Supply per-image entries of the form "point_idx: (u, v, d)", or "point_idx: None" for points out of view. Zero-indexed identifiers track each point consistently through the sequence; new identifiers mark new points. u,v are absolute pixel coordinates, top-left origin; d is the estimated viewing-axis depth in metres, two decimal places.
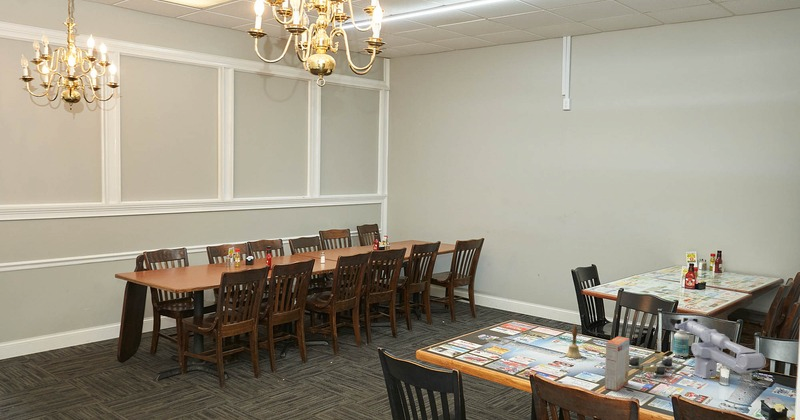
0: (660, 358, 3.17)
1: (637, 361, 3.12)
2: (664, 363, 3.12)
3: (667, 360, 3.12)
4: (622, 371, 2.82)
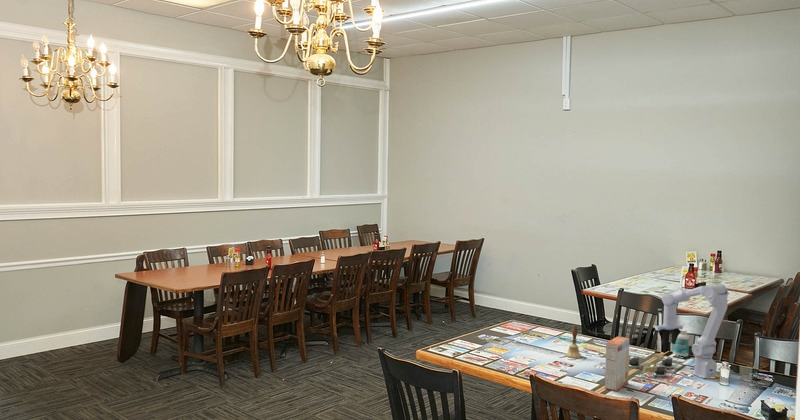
0: (660, 358, 3.17)
1: (637, 361, 3.12)
2: (664, 363, 3.12)
3: (667, 360, 3.12)
4: (622, 371, 2.82)
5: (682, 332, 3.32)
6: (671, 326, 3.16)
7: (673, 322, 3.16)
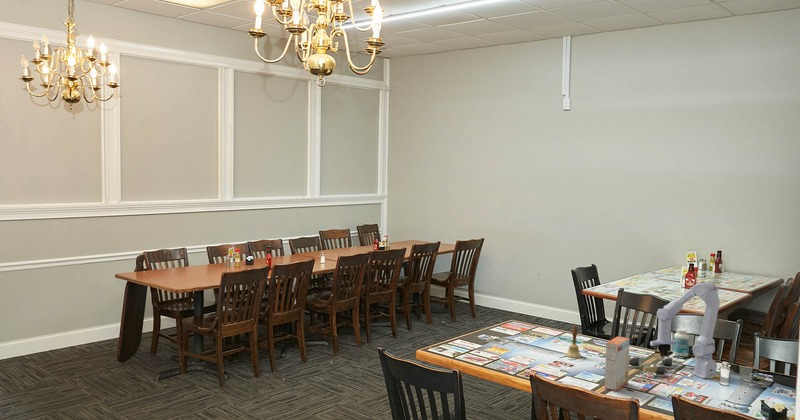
0: (660, 358, 3.17)
1: (637, 361, 3.12)
2: (664, 363, 3.12)
3: (667, 360, 3.12)
4: (622, 371, 2.82)
5: (682, 332, 3.32)
6: (665, 341, 3.16)
7: (667, 337, 3.16)
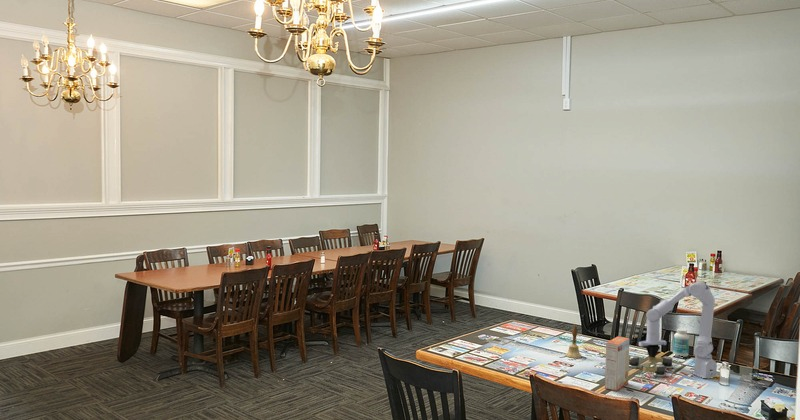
0: (659, 360, 3.14)
1: (637, 361, 3.12)
2: (669, 364, 3.12)
3: (671, 360, 3.12)
4: (622, 371, 2.82)
5: (682, 332, 3.32)
6: (654, 342, 3.14)
7: (656, 338, 3.14)
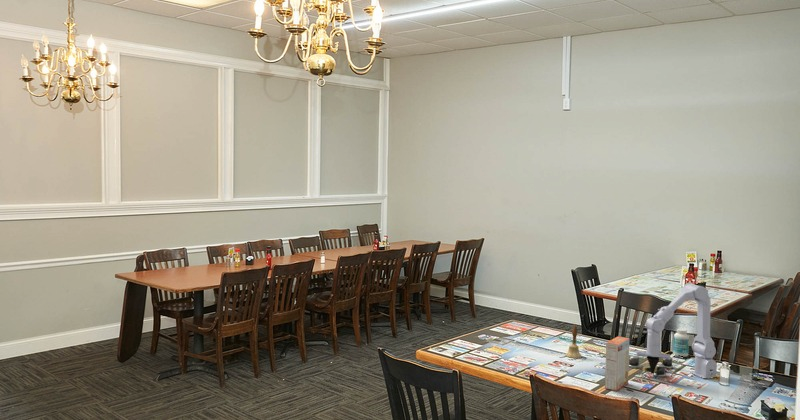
0: (659, 360, 3.14)
1: (637, 361, 3.12)
2: (669, 364, 3.12)
3: (671, 360, 3.12)
4: (622, 371, 2.82)
5: (682, 332, 3.32)
6: (651, 353, 2.94)
7: (654, 350, 2.94)
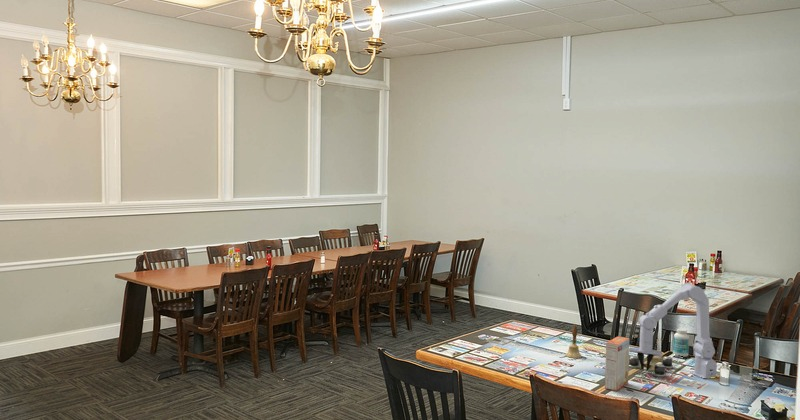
0: (659, 360, 3.14)
1: (637, 361, 3.12)
2: (669, 364, 3.12)
3: (671, 360, 3.12)
4: (622, 371, 2.82)
5: (682, 332, 3.32)
6: (642, 350, 3.00)
7: (645, 346, 2.99)
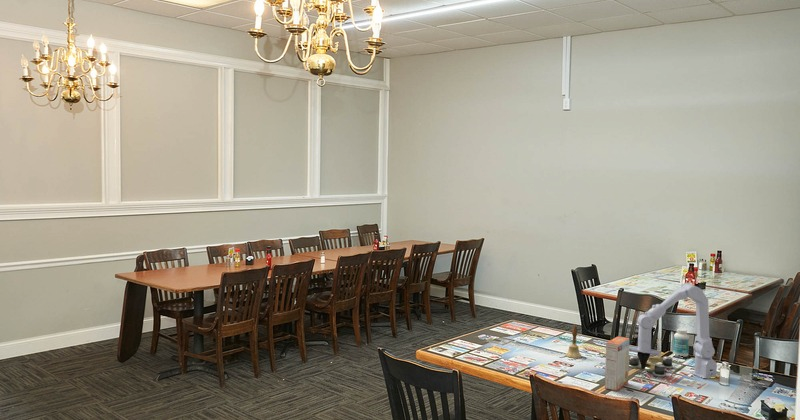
0: (659, 360, 3.14)
1: (637, 361, 3.12)
2: (669, 364, 3.12)
3: (671, 360, 3.12)
4: (622, 371, 2.82)
5: (682, 332, 3.32)
6: (640, 349, 3.01)
7: (643, 345, 3.01)
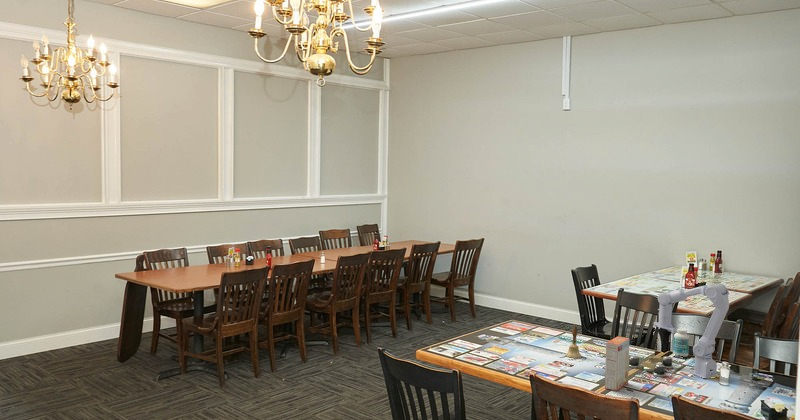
0: (659, 360, 3.14)
1: (637, 361, 3.12)
2: (669, 364, 3.12)
3: (671, 360, 3.12)
4: (622, 371, 2.82)
5: (682, 332, 3.32)
6: (658, 324, 3.17)
7: (660, 321, 3.16)
